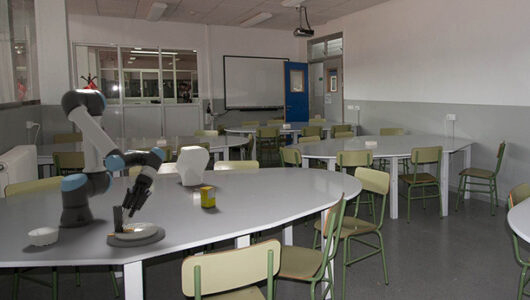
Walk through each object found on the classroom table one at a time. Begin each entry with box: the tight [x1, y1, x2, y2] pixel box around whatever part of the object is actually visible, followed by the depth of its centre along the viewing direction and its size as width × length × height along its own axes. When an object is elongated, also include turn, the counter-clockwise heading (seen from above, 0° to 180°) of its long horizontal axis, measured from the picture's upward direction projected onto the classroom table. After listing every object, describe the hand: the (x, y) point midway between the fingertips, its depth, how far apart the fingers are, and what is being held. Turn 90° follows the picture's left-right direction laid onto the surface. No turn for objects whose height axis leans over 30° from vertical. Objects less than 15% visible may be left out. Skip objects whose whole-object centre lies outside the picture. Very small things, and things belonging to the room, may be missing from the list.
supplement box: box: [199, 185, 217, 210], centre depth 214 cm, size 6×6×11 cm
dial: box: [112, 204, 159, 241], centre depth 168 cm, size 18×18×13 cm
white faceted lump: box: [174, 145, 211, 187], centre depth 278 cm, size 21×27×26 cm
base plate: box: [106, 226, 166, 249], centre depth 169 cm, size 24×24×2 cm
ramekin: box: [27, 226, 60, 247], centre depth 165 cm, size 11×11×5 cm
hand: (122, 223), depth 169 cm, fingers open, 1 cm apart
